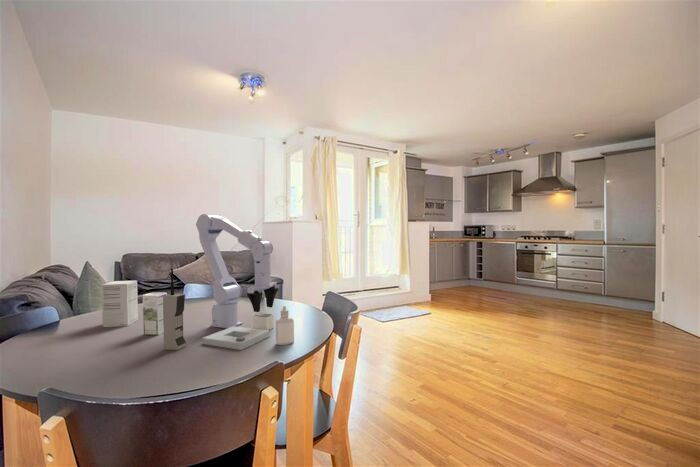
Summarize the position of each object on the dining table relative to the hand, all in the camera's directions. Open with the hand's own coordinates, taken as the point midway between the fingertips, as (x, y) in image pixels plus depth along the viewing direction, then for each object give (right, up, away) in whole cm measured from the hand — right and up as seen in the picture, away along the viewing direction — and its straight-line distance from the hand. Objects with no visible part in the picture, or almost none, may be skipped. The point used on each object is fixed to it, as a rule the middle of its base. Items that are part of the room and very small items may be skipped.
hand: (263, 309), depth 124 cm
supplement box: (-61, -9, +11) cm, 62 cm away
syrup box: (-38, -8, -3) cm, 39 cm away
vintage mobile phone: (-23, -8, -20) cm, 31 cm away
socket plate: (-5, -7, -13) cm, 16 cm away
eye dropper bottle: (+11, -7, -17) cm, 22 cm away
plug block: (0, -7, 0) cm, 7 cm away
